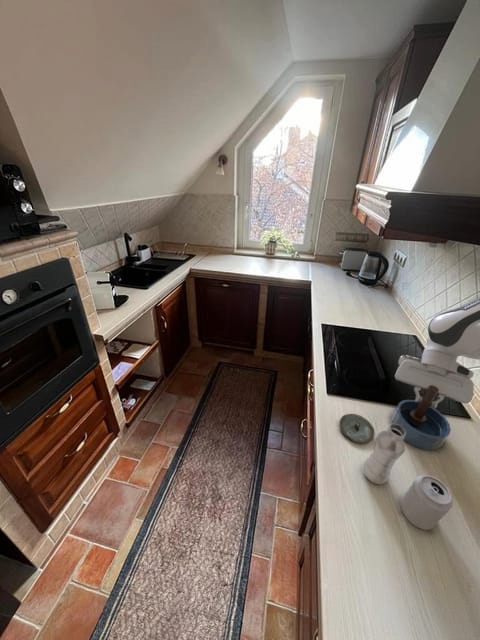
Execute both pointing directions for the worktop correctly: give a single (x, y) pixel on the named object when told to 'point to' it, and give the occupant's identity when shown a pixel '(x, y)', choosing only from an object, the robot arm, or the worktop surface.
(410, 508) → the can
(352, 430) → the lid
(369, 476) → the plastic bottle
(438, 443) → the bowl
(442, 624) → the worktop surface
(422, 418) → the stirring stick
